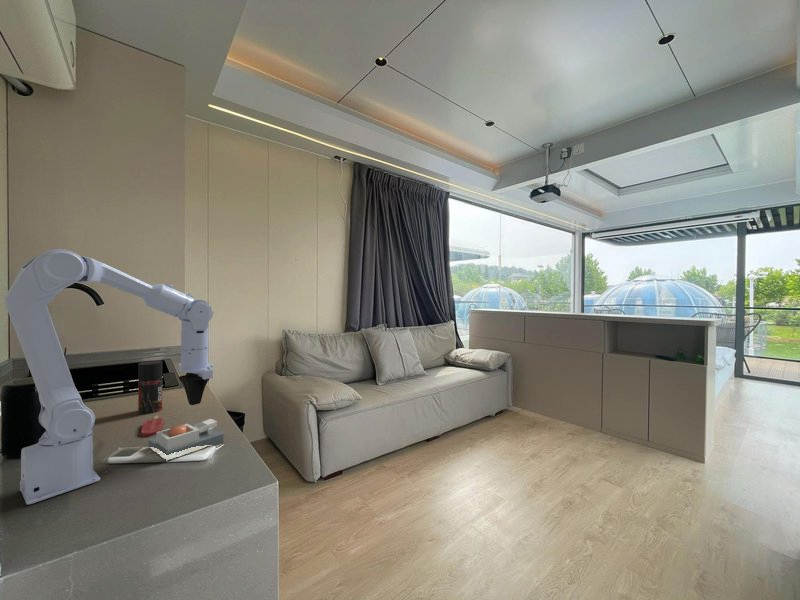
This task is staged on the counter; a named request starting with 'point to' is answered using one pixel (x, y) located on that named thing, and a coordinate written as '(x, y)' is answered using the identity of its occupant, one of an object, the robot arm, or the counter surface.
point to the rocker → (205, 425)
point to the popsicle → (152, 426)
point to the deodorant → (149, 387)
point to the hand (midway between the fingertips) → (194, 403)
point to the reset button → (177, 430)
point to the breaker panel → (185, 439)
